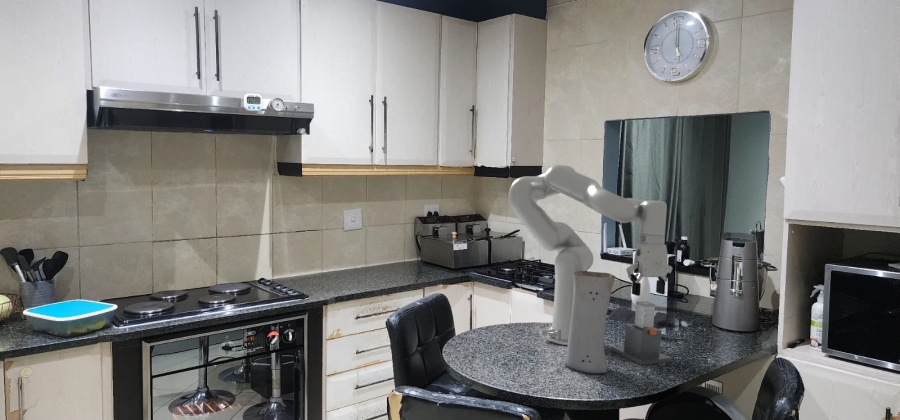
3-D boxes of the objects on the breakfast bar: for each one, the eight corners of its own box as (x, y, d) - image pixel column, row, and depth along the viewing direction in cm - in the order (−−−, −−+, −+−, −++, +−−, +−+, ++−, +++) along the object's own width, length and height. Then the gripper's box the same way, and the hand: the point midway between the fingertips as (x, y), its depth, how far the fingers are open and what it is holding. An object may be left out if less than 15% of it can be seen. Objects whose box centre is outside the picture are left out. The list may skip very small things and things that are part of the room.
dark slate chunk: (616, 313, 250) (617, 301, 250) (672, 323, 239) (673, 311, 238) (605, 320, 237) (606, 308, 237) (663, 331, 226) (664, 318, 225)
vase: (618, 372, 176) (628, 277, 174) (585, 378, 168) (594, 278, 167) (586, 359, 187) (594, 269, 185) (552, 364, 179) (561, 270, 178)
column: (641, 354, 189) (646, 304, 188) (632, 350, 193) (636, 301, 192) (651, 353, 190) (656, 304, 189) (642, 349, 195) (646, 300, 193)
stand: (641, 364, 183) (643, 333, 183) (611, 350, 196) (614, 320, 195) (671, 361, 188) (674, 330, 187) (641, 347, 201) (643, 318, 200)
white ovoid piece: (650, 306, 263) (654, 265, 262) (646, 310, 257) (649, 268, 255) (632, 303, 267) (636, 263, 266) (627, 306, 261) (631, 265, 259)
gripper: (637, 241, 182) (634, 298, 183) (681, 241, 189) (678, 295, 190) (621, 238, 189) (618, 292, 190) (664, 238, 196) (661, 290, 197)
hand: (648, 294), depth 190 cm, fingers open, 9 cm apart
